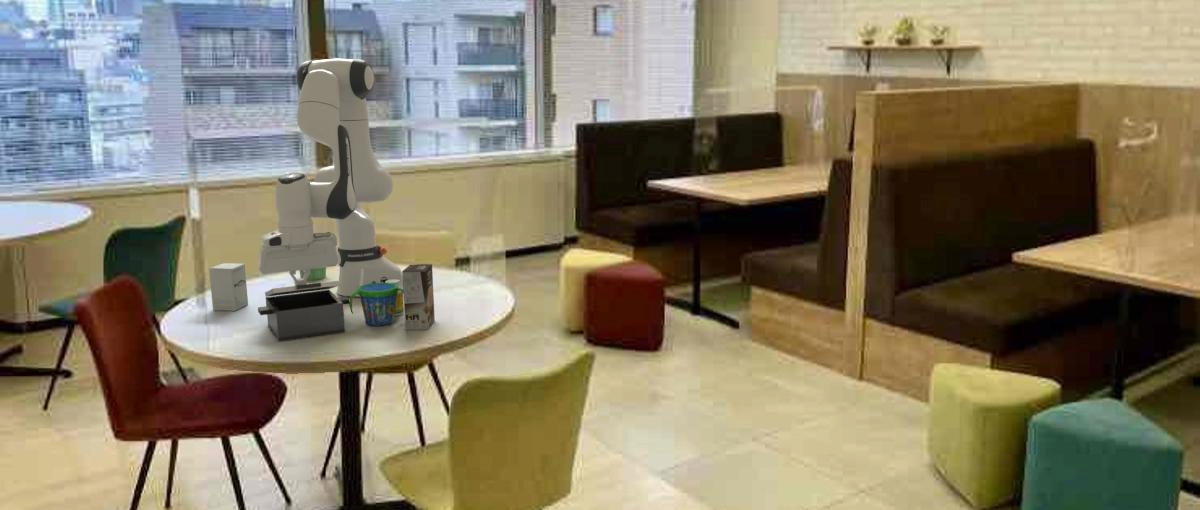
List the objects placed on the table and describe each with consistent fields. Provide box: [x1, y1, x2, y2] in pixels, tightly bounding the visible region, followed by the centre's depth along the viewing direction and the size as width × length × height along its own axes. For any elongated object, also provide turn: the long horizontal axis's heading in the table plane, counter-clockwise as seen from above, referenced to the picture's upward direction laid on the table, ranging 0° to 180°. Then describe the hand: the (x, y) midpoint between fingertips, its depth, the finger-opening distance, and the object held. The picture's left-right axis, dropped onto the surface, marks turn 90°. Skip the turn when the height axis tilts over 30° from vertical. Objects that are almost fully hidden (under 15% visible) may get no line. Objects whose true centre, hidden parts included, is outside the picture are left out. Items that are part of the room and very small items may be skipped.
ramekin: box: [298, 267, 327, 281], centre depth 322 cm, size 9×9×4 cm
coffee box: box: [401, 263, 436, 331], centre depth 263 cm, size 9×6×16 cm
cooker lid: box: [264, 280, 341, 298], centre depth 260 cm, size 17×19×1 cm
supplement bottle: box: [385, 280, 405, 317], centre depth 276 cm, size 5×5×10 cm
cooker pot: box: [257, 289, 350, 342], centre depth 262 cm, size 23×17×8 cm
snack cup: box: [348, 283, 403, 327], centre depth 267 cm, size 16×10×10 cm
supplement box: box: [208, 262, 249, 312], centre depth 285 cm, size 7×7×13 cm
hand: (300, 285), depth 262 cm, fingers closed, pressing on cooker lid
